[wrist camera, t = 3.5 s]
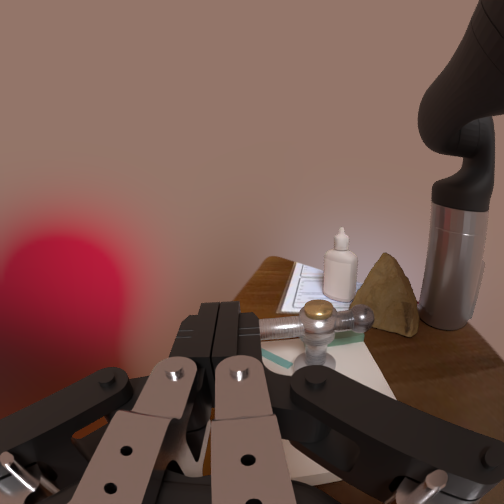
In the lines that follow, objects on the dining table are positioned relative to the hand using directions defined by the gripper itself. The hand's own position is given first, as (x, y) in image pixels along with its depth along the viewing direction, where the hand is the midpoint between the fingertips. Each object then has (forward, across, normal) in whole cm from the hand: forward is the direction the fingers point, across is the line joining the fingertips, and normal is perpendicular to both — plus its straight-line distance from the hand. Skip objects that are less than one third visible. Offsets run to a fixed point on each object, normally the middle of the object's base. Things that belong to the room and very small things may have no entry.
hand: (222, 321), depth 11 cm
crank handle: (+10, -4, +11) cm, 16 cm away
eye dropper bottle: (+31, -16, +16) cm, 39 cm away
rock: (+21, -20, +16) cm, 33 cm away
